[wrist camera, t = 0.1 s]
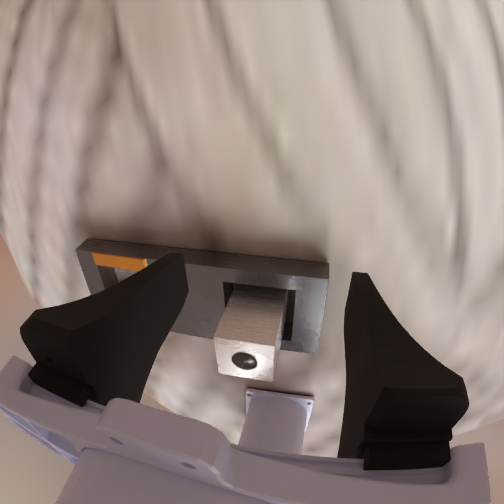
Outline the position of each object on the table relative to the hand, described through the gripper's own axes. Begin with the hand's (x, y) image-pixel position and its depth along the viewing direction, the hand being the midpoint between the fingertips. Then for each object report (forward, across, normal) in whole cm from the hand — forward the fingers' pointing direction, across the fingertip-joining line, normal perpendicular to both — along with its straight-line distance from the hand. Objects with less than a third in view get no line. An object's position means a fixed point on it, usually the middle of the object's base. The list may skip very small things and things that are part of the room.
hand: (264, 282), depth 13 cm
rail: (+10, +8, +9) cm, 16 cm away
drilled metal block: (+10, +2, +9) cm, 14 cm away
